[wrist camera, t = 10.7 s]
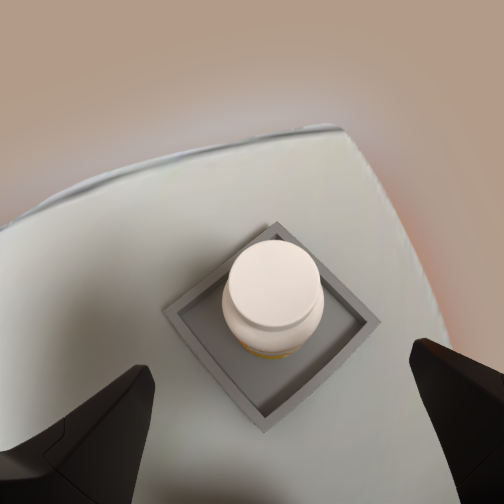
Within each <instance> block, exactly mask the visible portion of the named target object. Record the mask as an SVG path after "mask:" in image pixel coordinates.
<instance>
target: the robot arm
mask: <svg viewBox="0 0 504 504" xmlns="http://www.w3.org/2000/svg"><path fill="white" fill-rule="evenodd" d="M409 364H410V367H411V370H412V373H413V376H414V378H415V381H416V384H417V387H418V390H419V393H420V396H421V399H422V401H423V404H424V406H425V408H426V410H427V413H428V415H429V417H430V420H431V422H432V424H433V427H434V429H435V432H436V434H437V436H438V439H439V441H440V444H441V447H442V449H443V452H444V454H445V457H446V460H447V463H448V465H449V468H450V471H451V474H452V477H453V480H454V483H455V486H456V487H457V488H456V489H457V493H458V496H459V499H460V503H461V504H504V374H503V373H500V372H498V371H496V370H494V369H492V368H490V367H487V366H485V365H483V364H481V363H478V362H476V361H474V360H472V359H470V358H468V357H466V356H464V355H461V354H459V353H457V352H455V351H453V350H451V349H449V348H446V347H444V346H442V345H440V344H438V343H436V342H434V341H431V340H429V339H427V338H421V339H417V340H415V341H414V343H413V347H412V350H411V354H410V357H409ZM154 393H155V382H154V380H153V377H152V375H151V372H150V370H149V368H148V366H146V365H135V366H133V367H132V368H130V369H129V370H128V371H126V372H125V373H124V374H122V375H121V376H120V377H118V378H117V379H116V380H114V381H113V382H112V383H110V384H109V385H108V386H106V387H105V388H103V389H102V390H101V391H99V392H98V393H97V394H95V395H94V396H93V397H91V398H90V399H88V400H87V401H86V402H84V403H83V404H82V405H80V406H79V407H77V408H76V409H75V410H73V411H72V412H70V413H69V414H68V415H66V416H65V418H64V417H63V418H62V419H61V420H59V421H58V422H56V423H55V424H53V425H52V426H51V427H49V428H48V429H46V430H44V431H43V432H41V433H39V434H38V435H36V436H34V437H32V438H31V439H29V440H27V441H25V442H23V443H21V444H20V445H18V446H16V447H14V448H12V449H10V450H7V451H1V452H0V504H131V502H132V497H133V493H134V488H135V484H136V479H137V475H138V471H139V466H140V462H141V458H142V454H143V450H144V446H145V442H146V438H147V434H148V430H149V426H150V420H151V413H152V406H153V399H154Z"/></svg>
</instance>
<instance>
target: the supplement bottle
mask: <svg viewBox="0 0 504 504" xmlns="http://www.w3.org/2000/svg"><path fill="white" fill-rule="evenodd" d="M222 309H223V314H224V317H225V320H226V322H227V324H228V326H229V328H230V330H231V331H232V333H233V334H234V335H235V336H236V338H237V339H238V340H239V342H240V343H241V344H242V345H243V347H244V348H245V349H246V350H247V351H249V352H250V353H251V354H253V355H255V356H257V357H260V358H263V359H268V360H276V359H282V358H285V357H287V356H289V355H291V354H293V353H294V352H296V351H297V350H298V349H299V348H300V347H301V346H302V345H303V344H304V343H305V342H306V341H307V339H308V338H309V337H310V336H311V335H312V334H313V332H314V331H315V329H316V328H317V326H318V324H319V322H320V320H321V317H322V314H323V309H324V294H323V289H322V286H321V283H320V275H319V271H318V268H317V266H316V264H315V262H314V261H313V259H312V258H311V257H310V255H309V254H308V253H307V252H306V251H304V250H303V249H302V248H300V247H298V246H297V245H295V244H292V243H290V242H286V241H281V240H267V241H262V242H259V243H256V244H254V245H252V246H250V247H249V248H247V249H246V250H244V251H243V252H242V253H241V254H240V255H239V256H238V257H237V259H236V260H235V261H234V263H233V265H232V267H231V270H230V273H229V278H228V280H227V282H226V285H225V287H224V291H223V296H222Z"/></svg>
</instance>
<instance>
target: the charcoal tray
mask: <svg viewBox="0 0 504 504" xmlns="http://www.w3.org/2000/svg"><path fill="white" fill-rule="evenodd" d="M267 240H281V241H286V242H290V243H292V244H295V245H297V246H298V247H300V248H302V249H303V250H304V251H306V252H307V253H308V254H309V255H310V257H311V258H312V259H313V261H314V262H315V264H316V266H317V268H318V271H319V275H320V283H321V286H322V289H323V294H324V309H323V314H322V317H321V320H320V322H319V324H318V326H317V328H316V329H315V331H314V332H313V334H312V335H311V336H310V337H309V338H308V339H307V341H306V342H305V343H304V344H303V345H302V346H301V347H300V348H299V349H298V350H297V351H296V352H294V353H293V354H291V355H289V356H287V357H285V358H282V359H276V360H268V359H263V358H260V357H257V356H255V355H253V354H251V353H250V352H249V351H247V350H246V349H245V348H244V347H243V345H242V344H241V343H240V342H239V340H238V339H237V338H236V336H235V335H234V334H233V333H232V331H231V330H230V328H229V326H228V324H227V322H226V320H225V317H224V314H223V309H222V296H223V291H224V287H225V285H226V282H227V280H228V278H229V273H230V270H231V267H232V265H233V263H234V261H235V260H236V259H237V257H238V256H239V255H240V254H241V253H242V252H243V251H244V250H246V249H247V248H249V247H250V246H252V245H254V244H256V243H259V242H262V241H267ZM163 312H164V313H165V315H166V316H167V318H168V319H169V320H170V322H171V323H172V325H173V326H174V327H175V329H176V330H177V331H178V333H179V334H180V335H181V337H182V338H183V339H184V341H185V342H186V343H187V345H188V346H189V347H190V349H191V350H192V351H193V353H194V354H195V355H196V356H197V358H198V359H199V360H200V361H201V363H202V364H203V365H204V366H205V368H206V369H207V370H208V371H209V373H210V374H211V375H212V376H213V377H214V379H215V380H216V381H217V382H218V383H219V385H220V386H221V387H222V388H223V389H224V390H225V392H226V393H227V394H228V395H229V396H230V397H231V398H232V400H233V401H234V402H235V403H236V404H237V405H238V406H239V407H240V409H241V410H242V411H243V412H244V413H245V414H246V415H247V416H248V417H249V418H250V419H251V420H252V421H253V423H254V424H255V425H256V426H257V427H258V428H259V429H260V430H261V431H262V432H263V433H265V432H266V431H267V430H269V429H270V428H271V427H272V426H274V425H275V424H276V423H278V422H279V421H280V420H281V419H282V418H284V417H285V416H286V415H287V414H289V413H290V412H291V411H292V410H293V409H295V408H296V407H297V406H298V405H299V404H300V403H301V402H303V401H304V400H305V399H306V398H307V397H308V396H309V395H311V394H312V393H313V392H314V391H315V390H316V389H317V388H318V387H319V386H320V385H321V384H323V383H324V382H325V381H326V380H327V379H328V378H329V377H330V376H331V375H332V374H333V373H334V372H335V371H336V370H337V369H338V368H339V367H340V366H341V365H342V364H343V363H344V362H345V361H346V360H347V359H348V358H349V357H350V356H351V355H352V354H353V353H354V352H355V351H356V350H357V348H358V347H359V346H360V345H361V344H362V343H363V342H364V341H365V340H366V339H367V338H368V337H369V335H370V334H371V333H372V332H373V331H374V330H375V329H376V327H377V326H378V325H379V324H380V323H381V321H380V320H379V319H378V318H377V317H376V316H375V315H374V314H373V313H372V312H371V311H370V310H369V309H368V308H367V307H366V306H365V305H364V304H363V303H362V302H361V301H360V300H359V299H358V298H357V297H356V296H355V295H354V294H353V293H352V292H351V291H350V290H349V289H348V288H347V287H346V286H345V285H344V284H343V283H342V282H341V281H340V280H339V279H338V278H337V277H336V276H335V275H334V274H333V273H332V272H331V271H330V270H329V269H328V268H326V267H325V266H324V265H323V264H322V263H321V262H320V261H319V260H318V259H317V258H316V257H315V256H314V255H313V254H312V253H311V252H310V251H309V250H308V249H307V248H305V247H304V246H303V245H302V244H301V243H300V242H299V241H298V240H297V239H296V238H295V237H294V236H293V235H292V234H290V233H289V232H288V231H287V230H286V229H285V228H284V227H283V226H282V225H281V224H280V223H279V222H275V223H274V224H273V225H272V226H270V227H269V228H268V229H266V230H265V231H264V232H263V233H261V234H260V235H259V236H257V237H256V238H255V239H254V240H252V241H251V242H250V243H248V244H247V245H246V246H245V247H243V248H242V249H241V250H240V251H238V252H237V253H236V254H234V255H233V256H232V257H231V258H229V259H228V260H227V261H226V262H224V263H223V264H222V265H220V266H219V267H218V268H217V269H215V270H214V271H213V272H212V273H210V274H209V275H208V276H207V277H205V278H204V279H203V280H201V281H200V282H199V283H198V284H196V285H195V286H194V287H193V288H191V289H190V290H189V291H188V292H186V293H185V294H184V295H183V296H181V297H180V298H179V299H178V300H176V301H175V302H174V303H173V304H171V305H170V306H169V307H167V308H166V309H165V310H164V311H163Z"/></svg>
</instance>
